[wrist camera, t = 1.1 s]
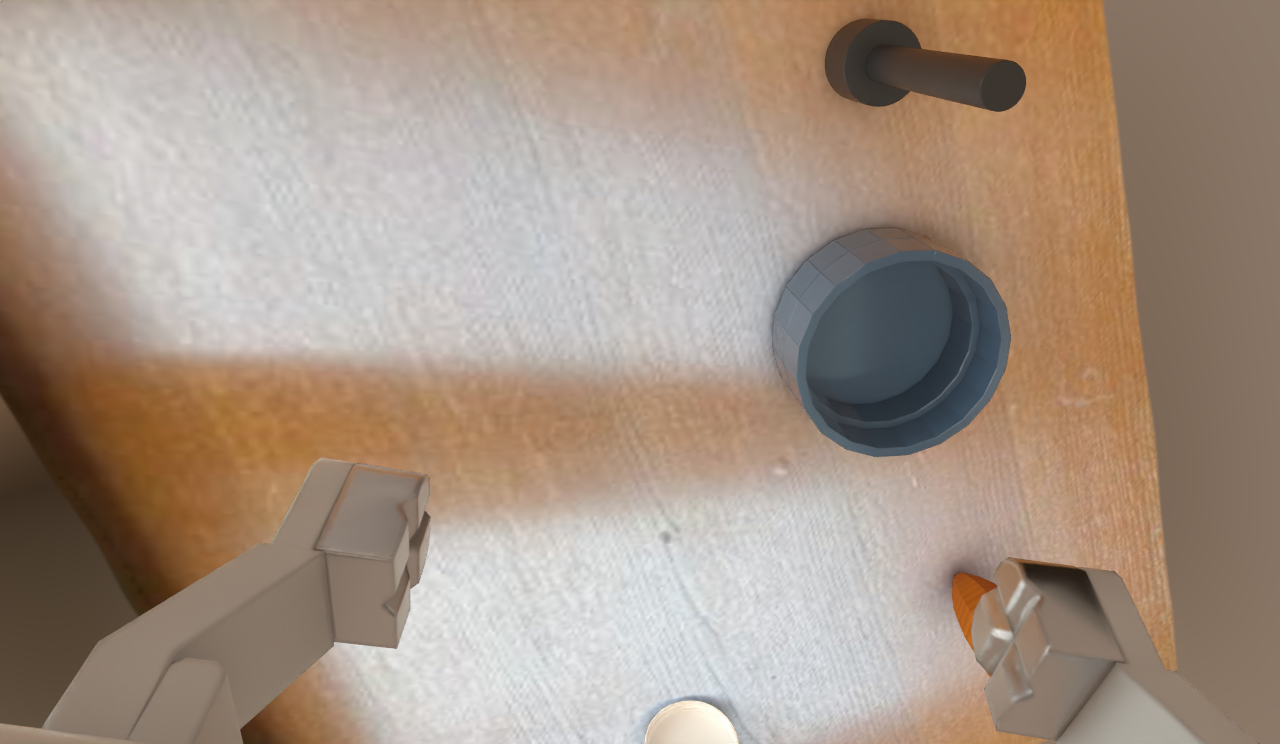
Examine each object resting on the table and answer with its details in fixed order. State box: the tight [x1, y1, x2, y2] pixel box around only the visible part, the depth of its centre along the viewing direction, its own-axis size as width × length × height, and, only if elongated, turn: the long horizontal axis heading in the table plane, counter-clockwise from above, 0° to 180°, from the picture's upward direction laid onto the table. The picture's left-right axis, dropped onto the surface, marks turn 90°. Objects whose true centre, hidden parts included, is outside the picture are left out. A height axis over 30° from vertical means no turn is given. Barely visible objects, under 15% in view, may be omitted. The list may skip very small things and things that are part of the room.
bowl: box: [772, 228, 1011, 457], centre depth 55 cm, size 13×13×6 cm
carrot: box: [952, 573, 997, 677], centre depth 60 cm, size 5×5×15 cm
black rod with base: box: [825, 19, 1026, 112], centre depth 44 cm, size 4×4×16 cm
